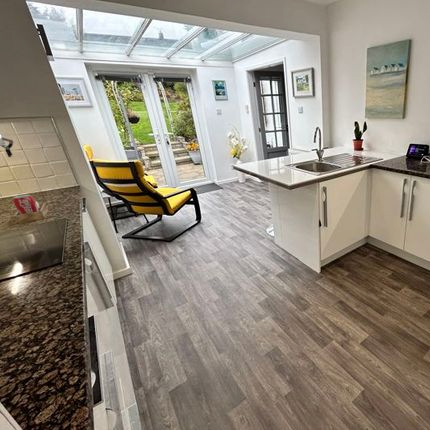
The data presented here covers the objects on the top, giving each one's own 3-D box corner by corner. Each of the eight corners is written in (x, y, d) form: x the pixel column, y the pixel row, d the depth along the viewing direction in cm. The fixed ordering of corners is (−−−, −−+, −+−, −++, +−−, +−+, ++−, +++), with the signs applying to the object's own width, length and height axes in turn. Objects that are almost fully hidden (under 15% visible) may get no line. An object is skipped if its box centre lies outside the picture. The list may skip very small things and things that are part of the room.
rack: (18, 225, 130) (13, 216, 129) (24, 215, 144) (20, 206, 142) (45, 219, 136) (41, 211, 135) (48, 210, 150) (45, 202, 148)
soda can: (22, 221, 132) (11, 199, 127) (22, 218, 136) (11, 196, 132) (42, 217, 137) (31, 195, 132) (41, 214, 141) (31, 193, 137)
